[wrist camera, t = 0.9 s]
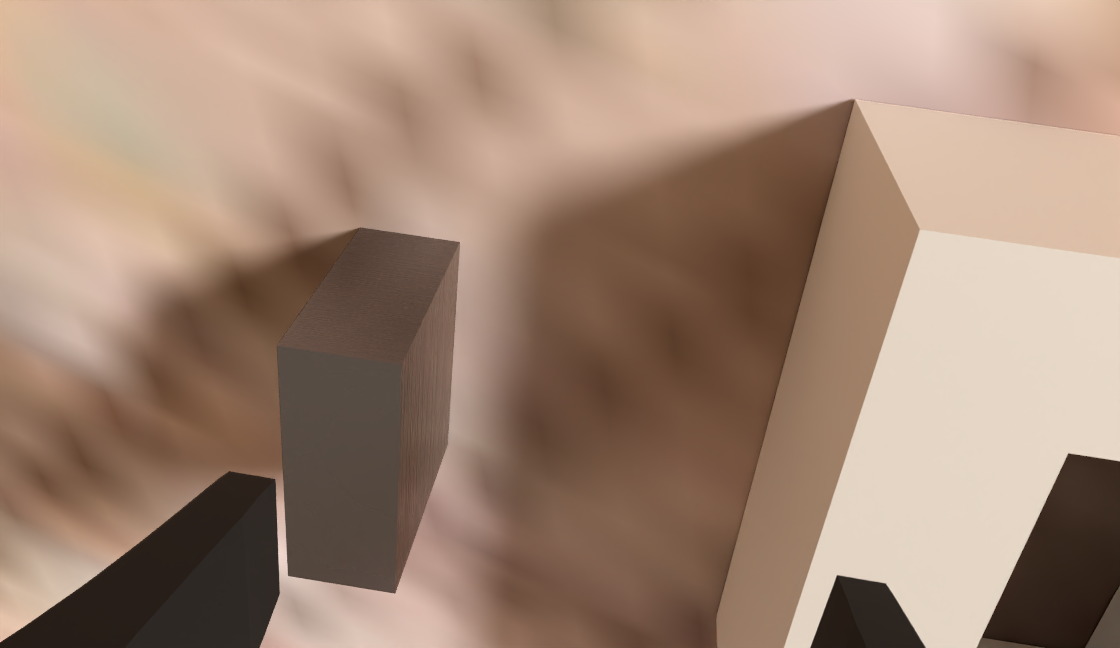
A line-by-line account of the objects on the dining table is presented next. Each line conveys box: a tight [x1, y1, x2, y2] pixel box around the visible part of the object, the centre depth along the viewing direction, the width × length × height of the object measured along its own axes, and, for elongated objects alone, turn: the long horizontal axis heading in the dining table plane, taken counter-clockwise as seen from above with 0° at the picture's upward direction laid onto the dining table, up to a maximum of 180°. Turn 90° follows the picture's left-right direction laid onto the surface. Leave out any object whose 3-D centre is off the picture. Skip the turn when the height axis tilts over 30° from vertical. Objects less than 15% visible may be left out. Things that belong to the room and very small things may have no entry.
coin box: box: [716, 99, 1120, 648], centre depth 19 cm, size 14×10×6 cm
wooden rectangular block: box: [277, 228, 460, 593], centre depth 20 cm, size 6×2×5 cm, turn 174°
